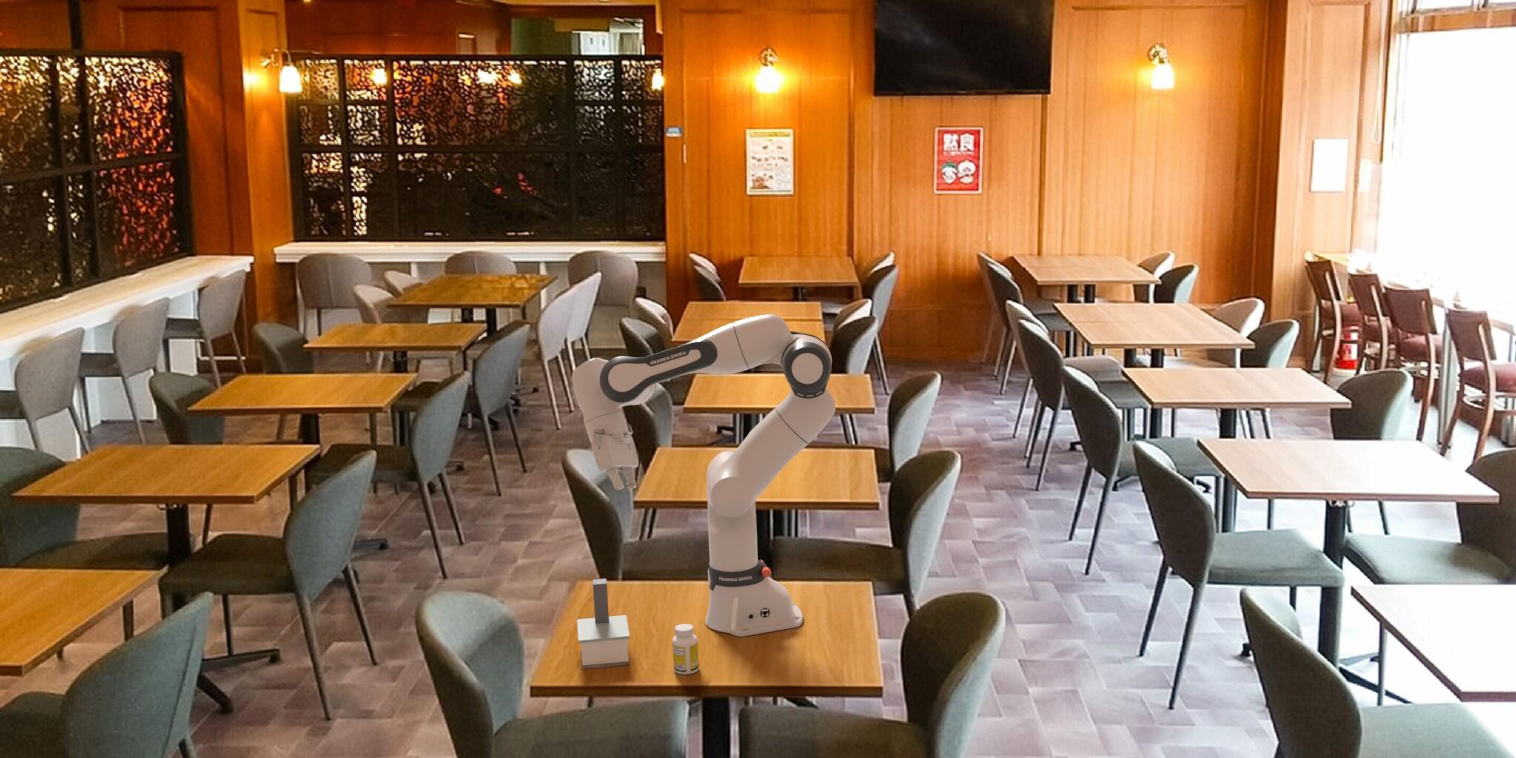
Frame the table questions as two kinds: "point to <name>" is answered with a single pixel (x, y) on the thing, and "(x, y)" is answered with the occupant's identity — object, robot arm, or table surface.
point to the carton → (604, 653)
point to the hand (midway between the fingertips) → (626, 488)
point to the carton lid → (602, 619)
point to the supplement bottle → (685, 650)
